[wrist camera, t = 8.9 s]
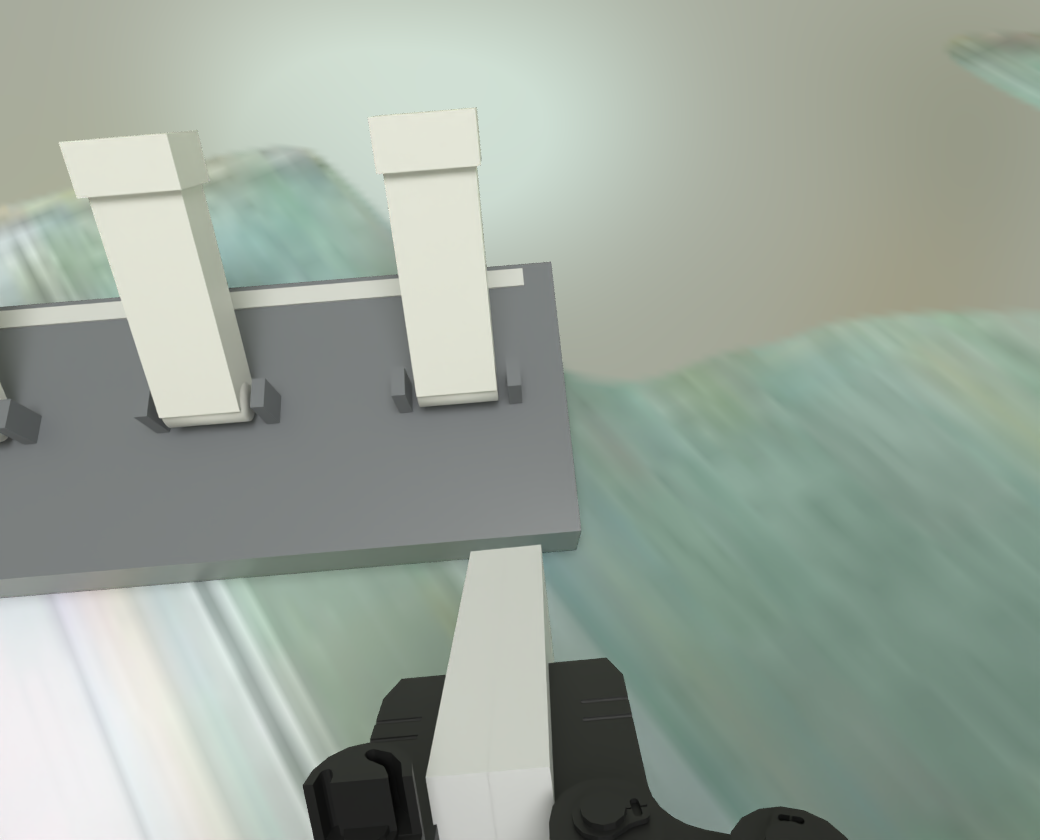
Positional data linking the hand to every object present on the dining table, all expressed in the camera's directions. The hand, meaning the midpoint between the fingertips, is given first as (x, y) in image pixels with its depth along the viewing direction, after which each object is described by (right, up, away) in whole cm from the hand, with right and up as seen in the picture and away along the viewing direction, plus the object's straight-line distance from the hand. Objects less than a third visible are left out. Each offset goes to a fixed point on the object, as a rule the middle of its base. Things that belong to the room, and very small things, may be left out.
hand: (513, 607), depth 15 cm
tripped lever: (-3, +6, +17) cm, 18 cm away
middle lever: (-14, +5, +17) cm, 23 cm away
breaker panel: (-14, +3, +22) cm, 27 cm away
